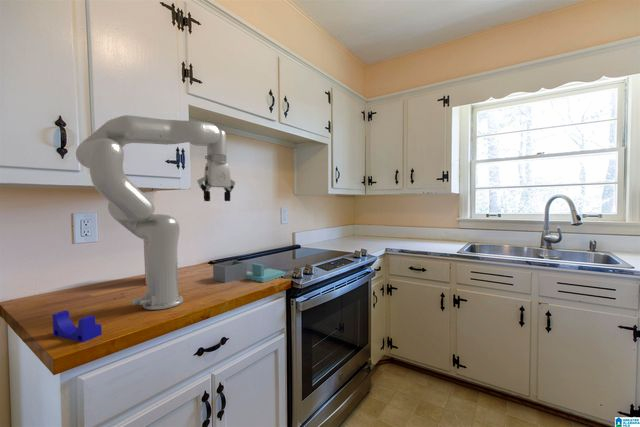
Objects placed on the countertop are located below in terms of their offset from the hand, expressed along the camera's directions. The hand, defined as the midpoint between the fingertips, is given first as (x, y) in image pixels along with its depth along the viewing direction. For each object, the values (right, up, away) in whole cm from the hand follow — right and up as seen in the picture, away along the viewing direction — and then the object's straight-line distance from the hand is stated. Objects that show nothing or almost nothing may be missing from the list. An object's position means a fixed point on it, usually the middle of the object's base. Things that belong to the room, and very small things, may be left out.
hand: (217, 201), depth 122 cm
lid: (+17, -36, +17) cm, 43 cm away
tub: (+1, -36, +15) cm, 39 cm away
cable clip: (-23, -39, -43) cm, 62 cm away
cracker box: (-33, -36, +11) cm, 50 cm away
